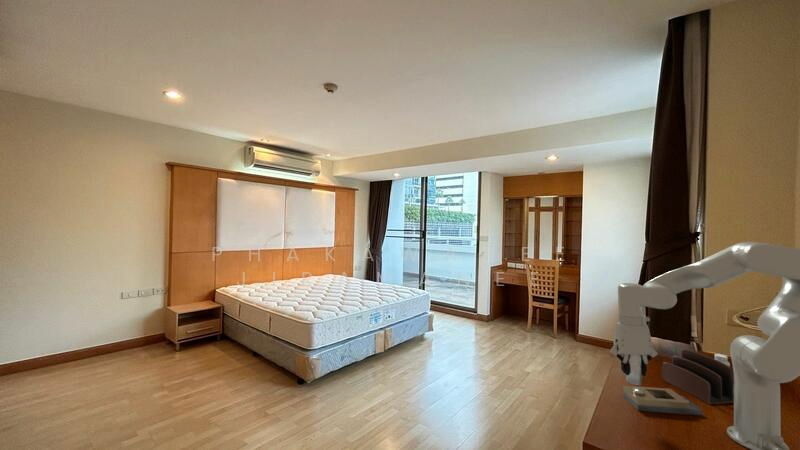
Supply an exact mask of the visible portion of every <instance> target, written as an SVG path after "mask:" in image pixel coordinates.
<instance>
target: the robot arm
mask: <svg viewBox="0 0 800 450" xmlns="http://www.w3.org/2000/svg"><path fill="white" fill-rule="evenodd" d="M750 272H755V273H761V274H765V275H770V276H776V277H779V278H782V279H781V280H782V285H781V289H780V291H779V292H778V293H777V295H776V296H775V298H773V300H772V301H771V302H770V304H769V305H768V306H767V307H766V308H765V309H764V311H763V312H762V313H761V314H760V316H759V317H758V318H757V322H756V323H757V328H758V329H759V330H760V331H761V332H762V333H763V334H765V335H766V336H768V337H769V338H768V339H767V340H766V339H764V338H763V337H759V336H756V335H750V334H745V335H743V334H742V335H740V336H738V337H735V338H734V339H733V340H732V341H731V344H730V348H729V351H730V359H731V364H732V373H733V391H734V403H733V425H730V426H728V427H727V428H726V433H727V435H728V436H729V438H730V439H732V440H733V441H735V442H736V443H737V444H739V445H741V446H743V447H745V448H747V449H750V450H791V449H790V448H789V446H788V445H787V444H786V443H785V442H784V437H782V436H781V385H780V384H785V383H789V382H792V381H794V380H796V379H797V378H798V377H799V376H800V248H799V247H798V248H797V247H791V246H782V245H779V244H778V245H777V244H770V243H764V242H756V241H755V242H754V241H742V242H738V243H735V244H733V245H730V246H728V247H726V248H724V249H722V250H720V251H718V252H716V253H714V254H712V255H709V256H707V257H705V258H703V259H701V260H699V261H696V262H693V263H690V264H688V265H684V266H682V267H679V268H676V269H673V270H670V271H668V272H665V273H663V274H661V275H658V276H656V277H654V278H653V279H651V280H648V281H647V282H645V283H644V284H643V285H641V284H638V283H633V282H632V283H631V282H624V283H620V284H619V285H618V287H617V302H618V307H617V308H618V322H615V325H614V333H613V346H612V347H611V348H610V350H609V353H610V354H612V355H613V356H615V357H616V358H618V359H619V360H620V368H621V371H622V373H623V374H625V376H626V375H629V364H628V363H627V360H628V355H632V354H634V355H641V364H642V377H646V374H647V372H648V371H647V370H648V369H647V365H648V364H649V362H650V361H651V360H652V359H653V358H654V357H656V356H658V352H657V351H656V350H655V348H654V347H653V345H652V344H653V343H652V336H651V333H650V332H651V331H650V328H649V326H648V324H647V322H650V321H651V318H650V316H646V312H647V311H646V308H652V309H657V310H669V309H672V308H674V306H676V304H677V302H678V298H677V297H678V296H677V294H680V293H682V292H686V291H689V290H695V289H696V290H697V289H709V288H715V287H718V286H721V285H723V284H725V283H728V282H730V281H732V280H734V279H736V278H739V277H741V276H743V275H746V274H748V273H750ZM618 351H619V352H618Z"/></svg>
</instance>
